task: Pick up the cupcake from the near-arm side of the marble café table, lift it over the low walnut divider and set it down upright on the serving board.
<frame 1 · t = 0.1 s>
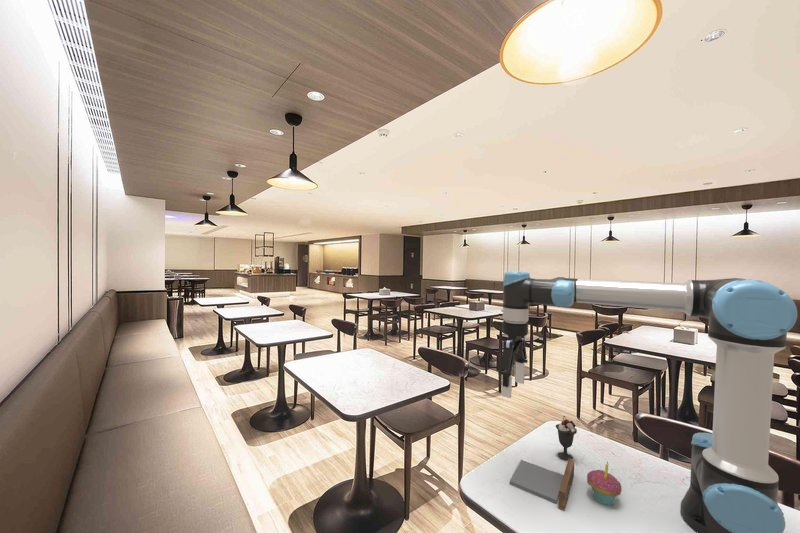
hand: (513, 389, 100), 28 cm above the table, tool pointing down, fingers open, 13 cm apart
sundae: (565, 457, 112), on the table
board: (537, 481, 99), on the table
divider: (566, 490, 95), on the table
cupcake: (603, 499, 92), on the table
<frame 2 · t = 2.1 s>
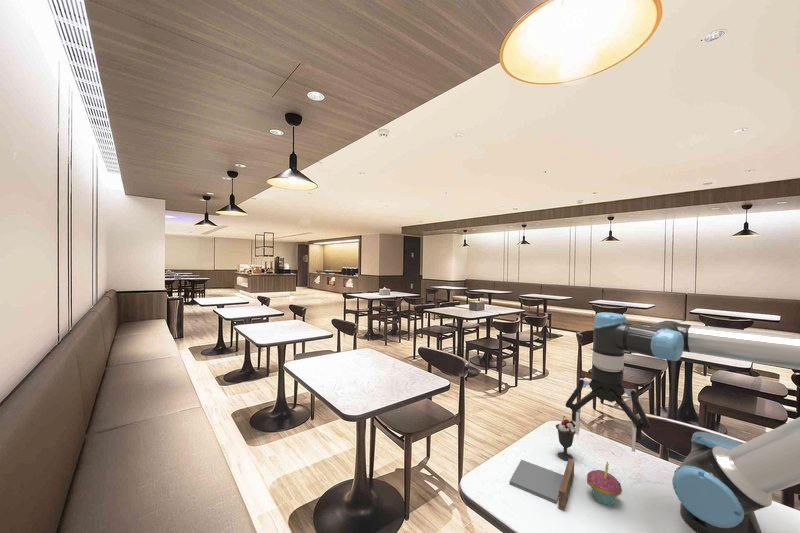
hand: (604, 440, 92), 17 cm above the table, tool pointing down, fingers open, 13 cm apart
nothing on the table moved.
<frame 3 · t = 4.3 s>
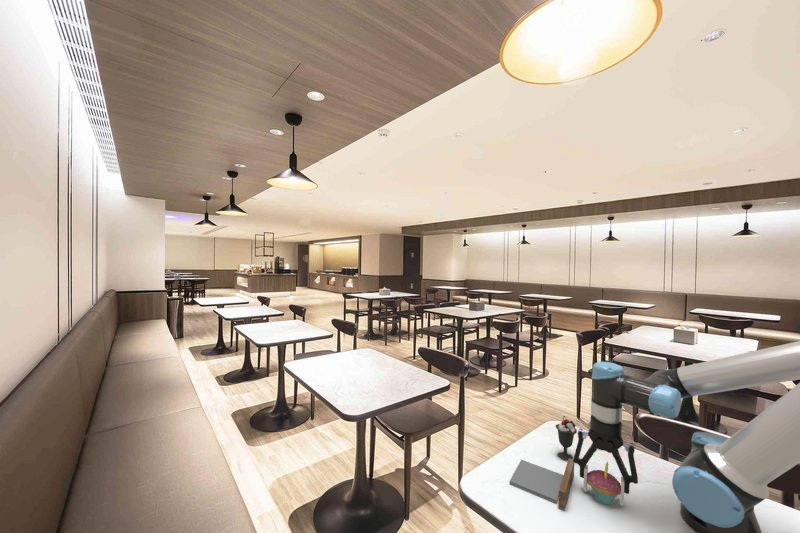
hand: (603, 495, 92), 1 cm above the table, tool pointing down, fingers closed on cupcake, 8 cm apart
cupcake: (603, 498, 92), on the table, touching gripper
everything else where it was.
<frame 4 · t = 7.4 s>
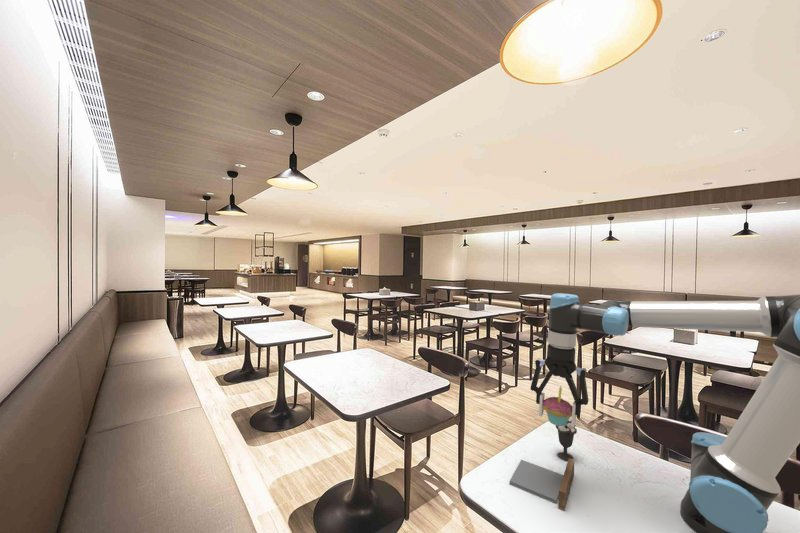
hand: (556, 419, 97), 20 cm above the table, tool pointing down, fingers closed on cupcake, 8 cm apart
cupcake: (556, 422, 97), point 19 cm above the table, touching gripper
everything else where it was.
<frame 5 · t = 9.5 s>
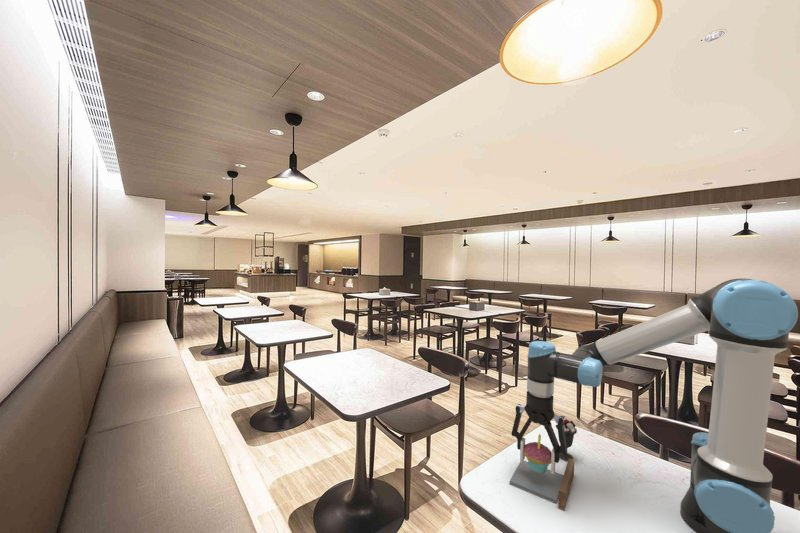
hand: (537, 465, 99), 5 cm above the table, tool pointing down, fingers closed on cupcake, 8 cm apart
cupcake: (537, 468, 99), point 4 cm above the table, touching gripper
everything else where it was.
when the fingers open (3 cm above the table, at t = 10.7 s): cupcake stays where it is, resting on board.
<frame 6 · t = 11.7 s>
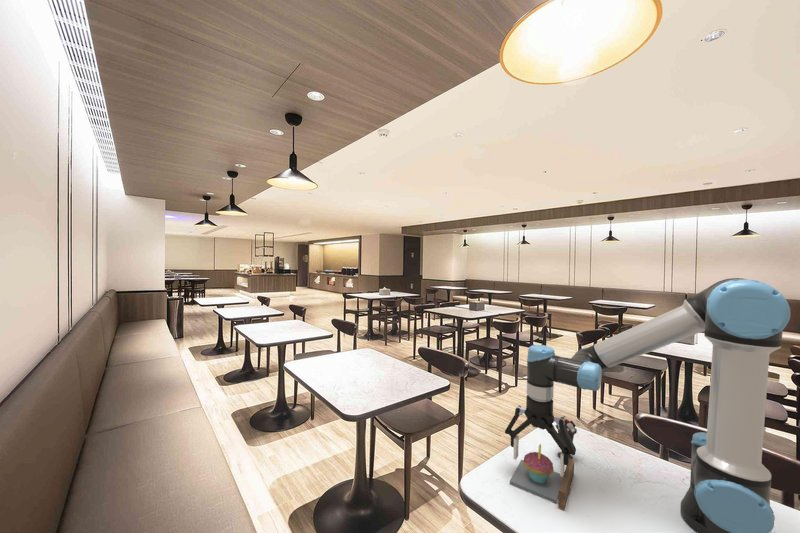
hand: (538, 465, 99), 5 cm above the table, tool pointing down, fingers open, 13 cm apart
cupcake: (537, 478, 99), point 1 cm above the table, touching board
everything else where it was.
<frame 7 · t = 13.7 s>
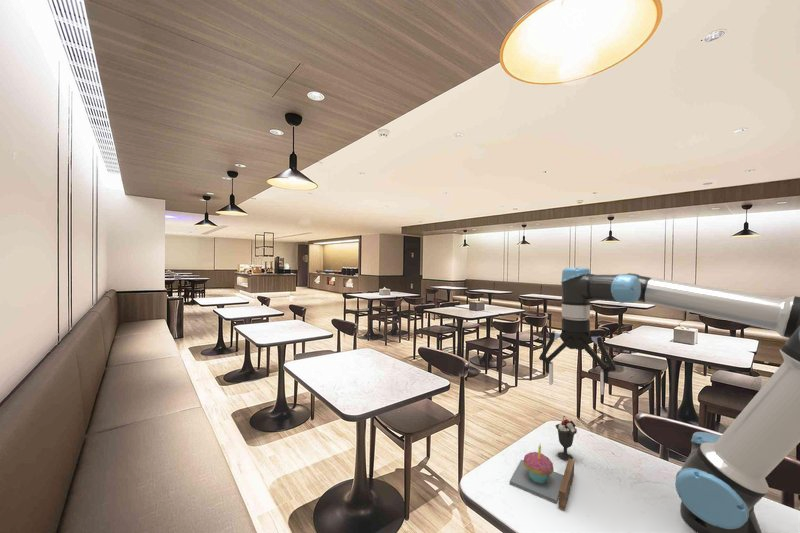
hand: (575, 388, 98), 29 cm above the table, tool pointing down, fingers open, 13 cm apart
nothing on the table moved.
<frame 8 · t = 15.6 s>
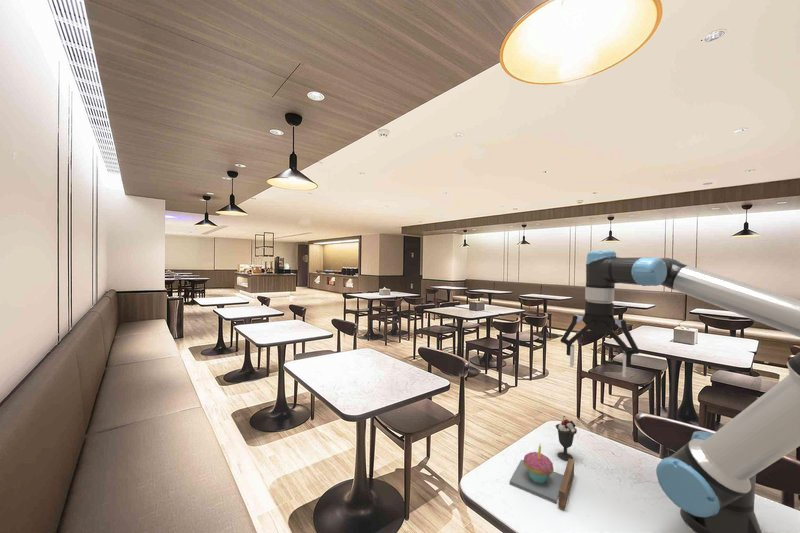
hand: (596, 370, 98), 35 cm above the table, tool pointing down, fingers open, 13 cm apart
nothing on the table moved.
at the end: cupcake inside the target area on the board (0.1 cm from its centre), point 0.8 cm above the board's base; cupcake tilted 0°; the gripper is holding nothing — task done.
